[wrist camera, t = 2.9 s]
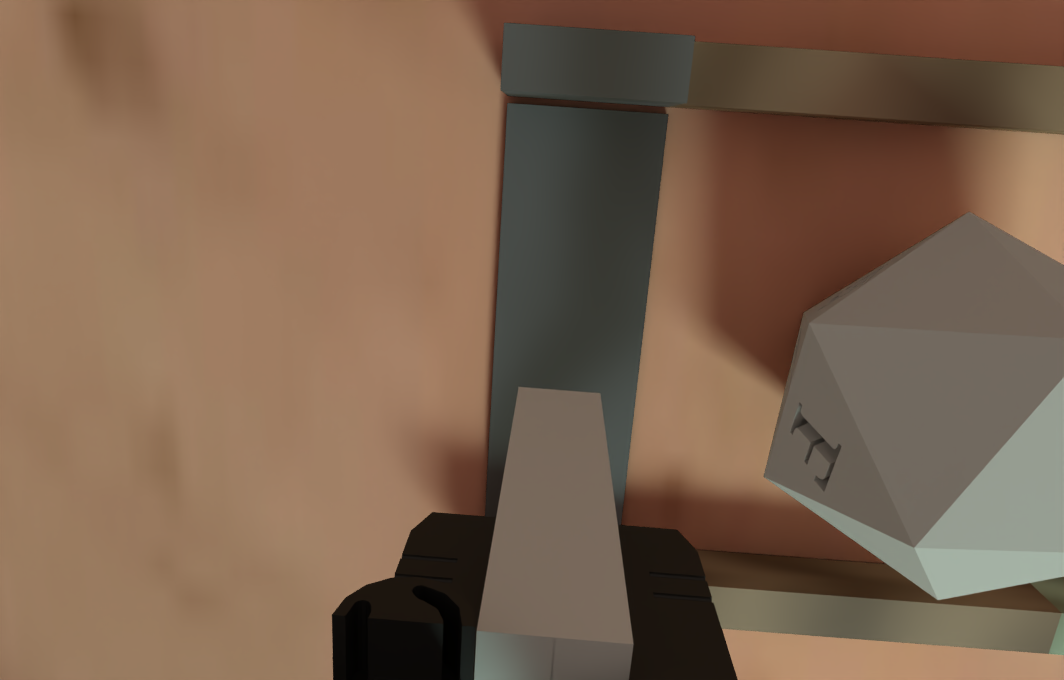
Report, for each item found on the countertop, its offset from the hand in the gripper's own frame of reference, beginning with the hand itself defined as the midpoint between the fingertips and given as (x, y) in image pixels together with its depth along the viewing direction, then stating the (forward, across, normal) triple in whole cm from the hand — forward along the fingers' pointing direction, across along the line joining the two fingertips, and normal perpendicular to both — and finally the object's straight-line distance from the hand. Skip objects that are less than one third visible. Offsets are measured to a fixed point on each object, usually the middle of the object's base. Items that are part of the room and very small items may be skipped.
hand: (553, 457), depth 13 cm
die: (+9, -10, 0) cm, 14 cm away
